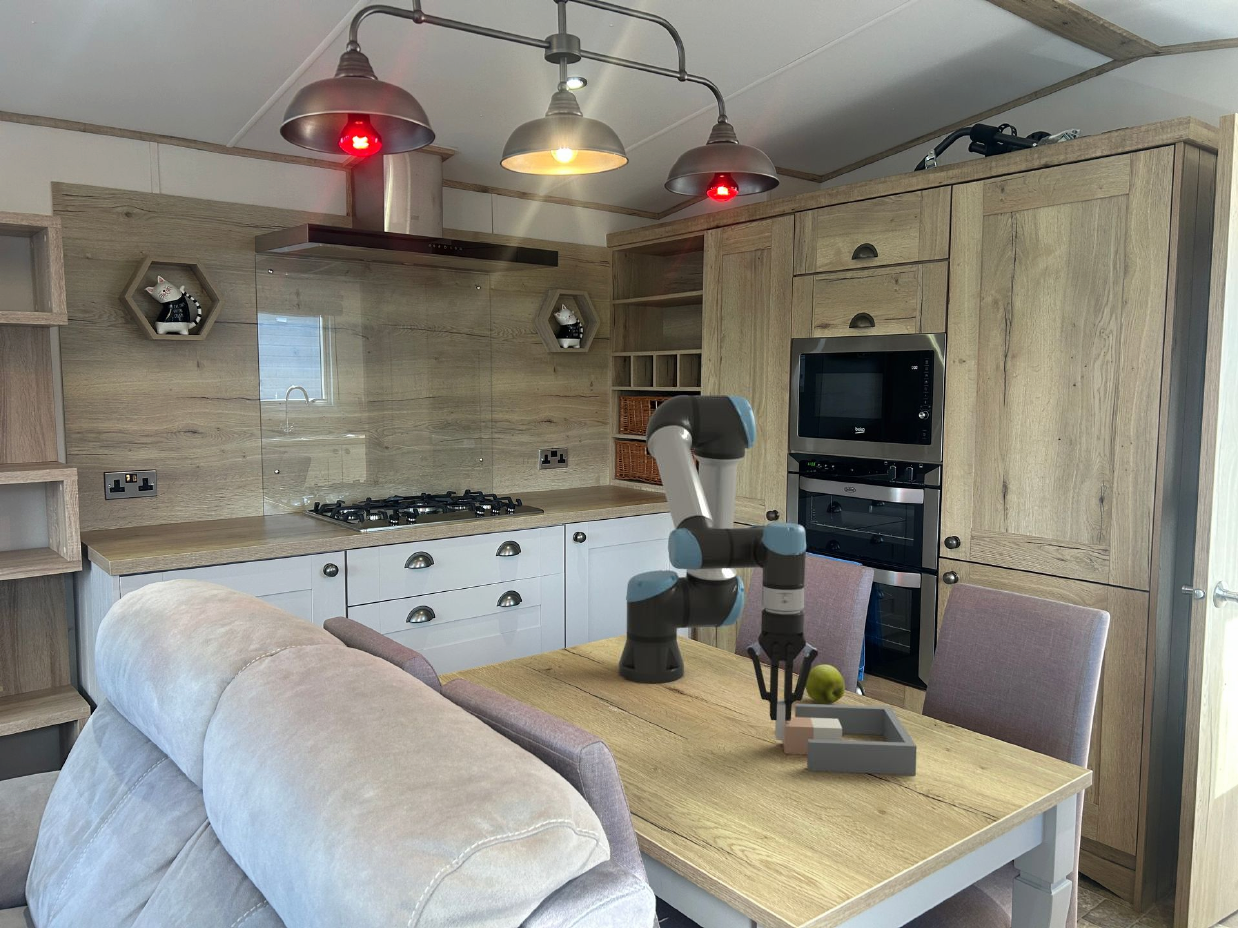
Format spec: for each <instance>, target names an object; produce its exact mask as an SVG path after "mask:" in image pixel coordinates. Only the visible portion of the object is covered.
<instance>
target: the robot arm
mask: <svg viewBox="0 0 1238 928" xmlns="http://www.w3.org/2000/svg"><path fill="white" fill-rule="evenodd" d="M756 431H757V427H756V420H755V416H754V411H753V409H752V406H751V404H750V403H749V400H747V399H746V398H745V397H743V396H736V395H735V396H734V395H727V394H725V395H723V394H721V395H720V394H719V395H716V394H715V395H709V394H708V395H706V394H705V395H704V394H703V395H688V394H687V395H686V394H684V395H683V394H682V395H681V394H680V395H676V396H673V397H670V398H668V399H666V400H665V401H663V402H662V403H661V404H660V405H659V406H658V407H657V408H656V409H655V410H654V412H653V413H652V415H651V416H650V417H649V420H648V422H647V425H646V430H645V441H646V447H647V449H648V452H649V454H650V456H652V458H654V459H655V461H656V465H657V468H658V472H659V476H660V480H661V483H662V487H663V491H664V495H665V498H666V502H667V505H668V508H669V511H670V516H671V519H672V523H673V527H674V529H673V530H671V532H669V535H668V540H667V551H668V559H669V563H670V564H671V566H672V567H673V568H675V569H677V570H686V572H685V573H686V574H685V576H683V577H679V575H678V573H677V572H676V571H674V570H669V569H667V570H661V569H660V570H653V571H647V572H642V573H638V574H636V575H634V576H632V577H631V578H630V579H629V580H628V582H627V587H626V597H625V600H626V640H625V644H624V647H623V650H622V652H621V655H620V659H619V663H618V675H619V676H621V677H622V678H624V679H626V680H629V681H632V682H637V683H638V682H640V683H647V684H650V683H652V684H653V683H654V684H655V683H667V682H673V681H677V680H679V679H681V678H682V677H683V676H684V674H685V663H684V660H683V656H682V654H681V650H680V648H679V644H678V637H677V635H678V629H685V628H686V629H689V628H692V629H694V628H716V629H717V628H721V627H728V626H733V625H735V623H736V622H738V621H739V619H740V617H741V615H742V612H743V609H744V603H745V591H744V590H745V585H744V582H743V580H742V578H741V577H740V576H738V574H737V573H738V571H737V569H747V568H748V569H750V568H751V569H752V568H754V569H755V568H757V569H758V568H759V569H762V582H761V583H762V584H761V585H762V588H761V606H762V607H763V609H762V610H761V623H760V624H761V628H760V629H761V630H760V634H759V636H758V638H757V639H758V641H755V642H754V643H753V644H747V645H746V653H747V654H748V657H750V659H751V661H752V664H753V667H754V672H755V677H756V681H757V686H758V690H759V694H760V695H759V696H760V698H761V700H763V701H768V703H769V717H770V720H771V721H775V722H774V723H775V725H774V726H775V728H774V729H775V730H774V732H775V733H774V735H775V739H776V741H782V740H785V721H790V720H791V717H792V705H793V703H795V702H801V701H802V700H803V696H804V694H805V690H806V687H805V686H806V683H807V679H808V676H809V672H810V671H811V669H812V665H813V662H814V661H815V659H816V658H817V657H818V655H819V652H818V650H817V648H816V646H812V645H810V644H809V643H807V641H806V640H807V639H806V638H805V635H804V632H805V631H804V630H805V629H804V626H805V613H804V612H803V609H804V608H805V580H806V579H805V577H806V576H805V575H806V551H807V550H806V549H807V542H806V541H807V540H806V529H805V527H804V526H803V525H801V524H798V523H792V522H771V523H767V524H766V525H759V524H757V525H756V524H754V525H751V526H749V527H744V528H743V527H734V520H735V519H734V518H735V505H736V492H737V491H736V489H737V476H738V475H737V473H738V464H739V463H740V462H741V461H742V460H743V461H744V459H745V458H746V449H751V448H752V447H753V446H754V445H755V441H756V439H757V438H756V435H757V432H756ZM691 449H692V450H691ZM693 456H694V457H693ZM694 458H695V459H696V460H697V461H698V470H697V467H696V464H695V461H694ZM761 649H762V651H763V652H764V653H765V654H766V656H767V657H768V659H769V660H770V661H769V662H770V665H769V666H770V670H769V671H770V674H769V691H767V688H766V684H765V679H764V674H763V670H762V665H761V661H760V658H759V656H760V655H761ZM801 652H803V653H802V654H803V656H804V657H803V660H802V662H801V667H800V670H799V674H798V676H797V677H798V678H797V679H796V680H797V681H796V683H795V684H796V685H795V688H794V692H793V675H794V674H793V673H794V672H793V671H794V670H793V669H794V660H796V658H798V656H799V654H800V653H801ZM779 662H784V676H783V677H784V679H783V680H784V682H783V699H779V697H778V696H779V695H778V694H779V693H778V692H779V667H780V666H779V665H780V663H779Z"/></svg>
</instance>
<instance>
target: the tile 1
mask: <svg viewBox="0 0 1238 928" xmlns="http://www.w3.org/2000/svg"><path fill="white" fill-rule="evenodd" d="M808 739H814V727H813V724H812V721H811V718H805V717H795V716H791V720H790V721H785V740H781V741H782V742H781V743H782V748H783V750H784V754H786V755H787V754H788V755H790V754H791V755H792V754H793V755H807V750H808Z"/></svg>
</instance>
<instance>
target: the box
mask: <svg viewBox="0 0 1238 928" xmlns="http://www.w3.org/2000/svg"><path fill="white" fill-rule="evenodd" d="M794 717H805V718H831V719H838V720H839V722H840V725H841V727H842V734H849V735H853V734H854V735H872V736H873V735H875V736H876V735H877V736H881V735H882V736H883V737H884V739H885V740H886V741H875V740H873V741H872V740H871V741H870V740H868V741H867V740H843V739H842V740H818V739H808V750H807V754H806V755H807V758H806V768H807V770H808V772H830V773H851V774H852V773H853V774H857V773H858V774H877V775H879V774H880V775H901V776H902V775H907V776H908V775H909V776H910V775H911V776H916V775H917V774H916V773H917V749H918V746H917V745H916V744H915V741H914V740H913V738H912V737H911V736H910V734H909V733H908V731H907V730H906V728H905V726H904V725H903V723H902V722H901V720H900V719H899V717H898V716H897V715H896V713H895V711H894V710H893V708H892V707H891V706H879V705H878V706H877V705H853V704H852V705H851V704H850V705H848V704H821V703H819V704H818V703H816V704H815V703H794Z"/></svg>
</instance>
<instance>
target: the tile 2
mask: <svg viewBox="0 0 1238 928" xmlns="http://www.w3.org/2000/svg"><path fill="white" fill-rule="evenodd" d="M811 721H812V724H813V727H814V739H818V740H843V733H842V727H841V725H840V722H839V720H838V719H831V718H811Z"/></svg>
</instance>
